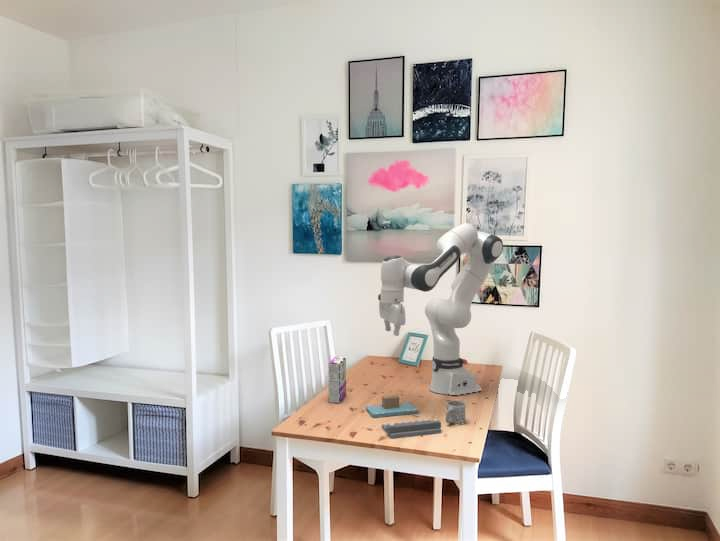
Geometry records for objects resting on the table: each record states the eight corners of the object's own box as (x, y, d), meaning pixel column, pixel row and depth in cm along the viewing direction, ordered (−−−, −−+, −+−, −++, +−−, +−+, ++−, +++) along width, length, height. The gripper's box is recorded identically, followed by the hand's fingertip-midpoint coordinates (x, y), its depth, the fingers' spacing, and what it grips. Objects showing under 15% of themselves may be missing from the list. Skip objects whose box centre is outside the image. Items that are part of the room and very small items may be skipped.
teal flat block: (409, 405, 210) (409, 392, 210) (418, 413, 202) (418, 399, 201) (365, 409, 205) (365, 396, 205) (372, 417, 197) (373, 403, 196)
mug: (452, 416, 198) (452, 399, 198) (468, 421, 194) (468, 403, 194) (438, 424, 191) (438, 406, 190) (454, 428, 186) (454, 410, 186)
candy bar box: (334, 394, 224) (334, 356, 223) (346, 395, 223) (346, 356, 222) (327, 403, 213) (328, 362, 212) (340, 403, 212) (340, 363, 211)
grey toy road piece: (430, 422, 192) (430, 412, 192) (442, 432, 182) (442, 421, 182) (380, 427, 187) (380, 417, 186) (389, 438, 177) (390, 427, 177)
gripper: (409, 300, 198) (409, 337, 199) (391, 294, 217) (391, 328, 218) (393, 301, 196) (393, 338, 197) (376, 295, 216) (376, 329, 217)
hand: (392, 333), depth 208 cm, fingers open, 8 cm apart
